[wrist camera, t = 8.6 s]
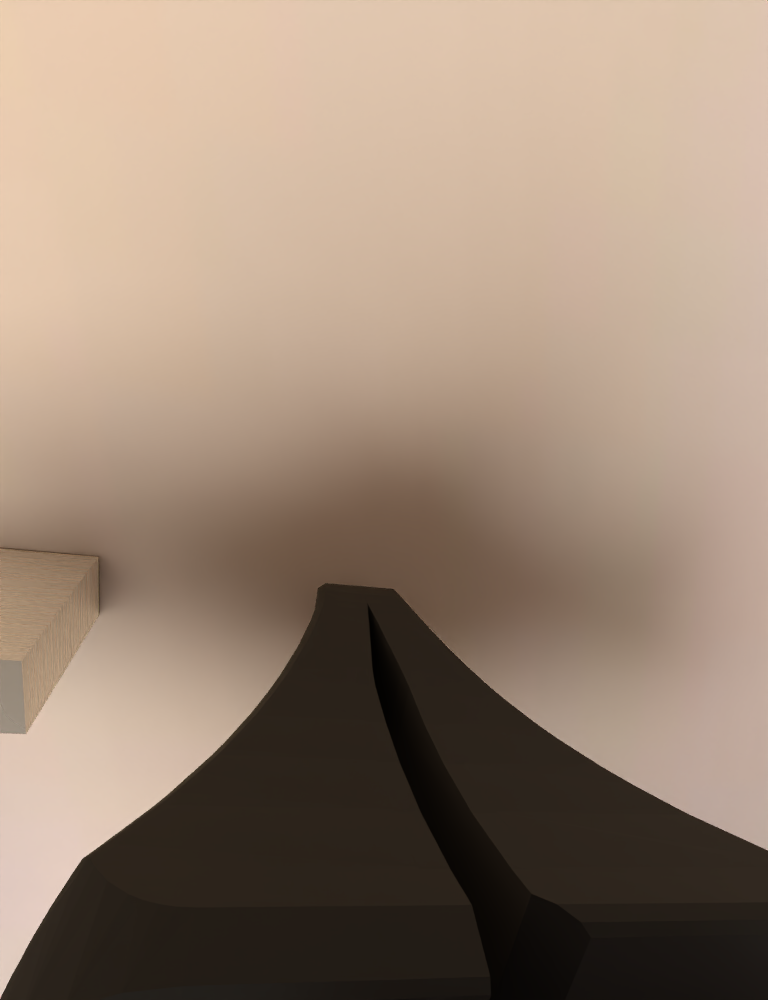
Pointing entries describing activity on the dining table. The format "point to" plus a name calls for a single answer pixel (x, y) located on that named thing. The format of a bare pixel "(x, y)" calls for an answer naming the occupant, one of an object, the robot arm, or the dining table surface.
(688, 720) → the dining table surface
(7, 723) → the bar
